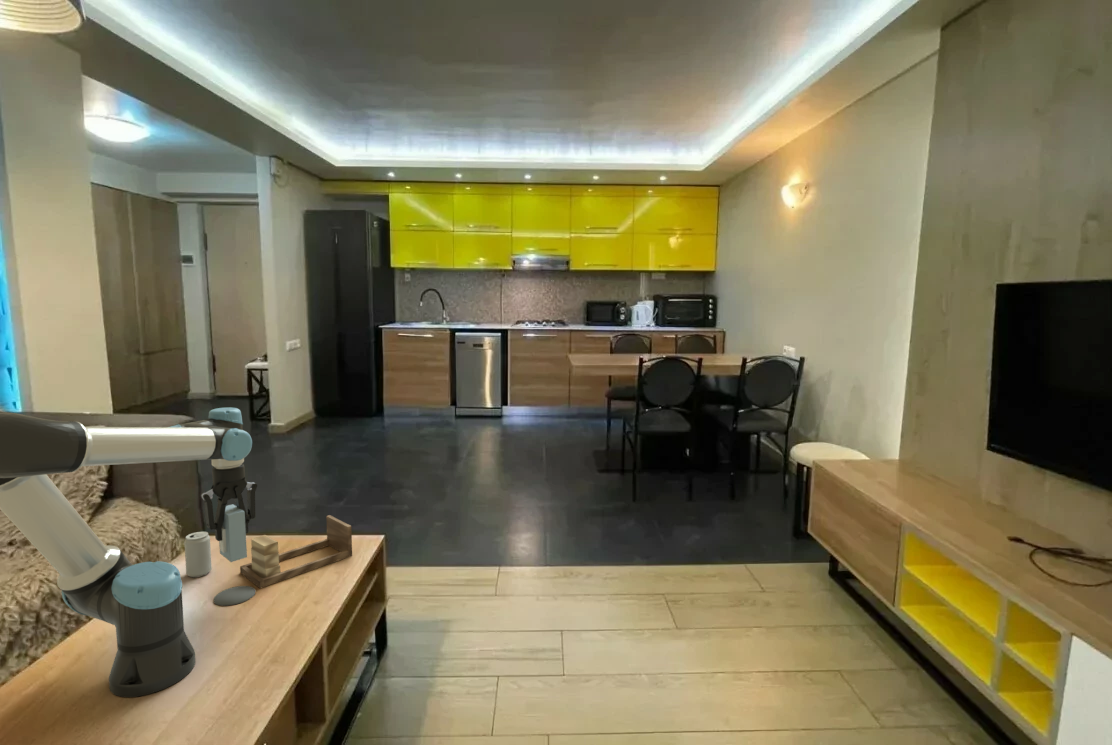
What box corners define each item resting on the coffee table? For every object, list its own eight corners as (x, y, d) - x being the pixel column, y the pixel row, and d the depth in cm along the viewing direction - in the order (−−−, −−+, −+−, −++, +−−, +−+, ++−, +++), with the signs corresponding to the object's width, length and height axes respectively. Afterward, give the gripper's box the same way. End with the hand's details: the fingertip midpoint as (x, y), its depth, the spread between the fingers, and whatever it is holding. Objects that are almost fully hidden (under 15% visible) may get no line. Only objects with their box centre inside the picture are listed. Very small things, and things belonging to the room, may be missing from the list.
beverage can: (188, 570, 166) (186, 532, 165) (213, 566, 169) (211, 529, 167) (184, 580, 160) (182, 540, 159) (210, 576, 163) (208, 537, 161)
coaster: (221, 610, 145) (221, 608, 145) (208, 596, 151) (208, 595, 151) (261, 595, 152) (261, 594, 152) (247, 583, 159) (247, 582, 159)
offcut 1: (264, 556, 159) (264, 546, 159) (251, 548, 164) (251, 539, 164) (278, 551, 163) (277, 541, 162) (265, 544, 167) (264, 534, 167)
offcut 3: (266, 583, 160) (266, 570, 159) (252, 572, 166) (251, 559, 165) (280, 578, 163) (280, 565, 162) (265, 567, 169) (265, 555, 168)
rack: (259, 588, 156) (258, 554, 155) (240, 572, 165) (238, 540, 164) (352, 555, 178) (351, 525, 177) (330, 543, 187) (329, 515, 186)
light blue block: (230, 562, 146) (228, 515, 145) (219, 553, 152) (217, 508, 150) (247, 557, 150) (244, 511, 148) (235, 548, 155) (233, 504, 153)
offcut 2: (265, 569, 160) (264, 556, 159) (251, 560, 165) (251, 547, 165) (279, 564, 163) (278, 552, 162) (265, 555, 168) (265, 543, 168)
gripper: (196, 475, 139) (202, 563, 141) (267, 461, 152) (271, 542, 154) (187, 469, 144) (192, 554, 146) (256, 456, 156) (260, 534, 159)
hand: (232, 547), depth 150 cm, fingers closed on light blue block, 4 cm apart
